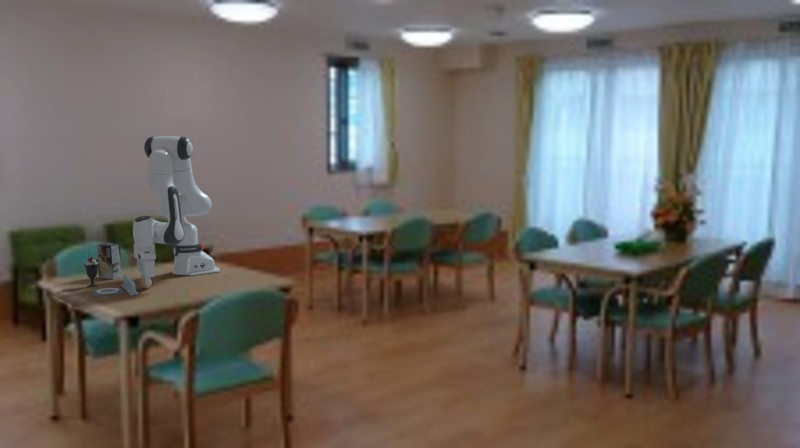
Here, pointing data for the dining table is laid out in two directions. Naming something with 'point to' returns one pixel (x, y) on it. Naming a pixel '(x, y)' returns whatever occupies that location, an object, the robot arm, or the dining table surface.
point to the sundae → (92, 270)
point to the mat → (107, 291)
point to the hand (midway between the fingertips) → (145, 283)
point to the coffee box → (109, 261)
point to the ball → (142, 284)
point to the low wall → (129, 285)
